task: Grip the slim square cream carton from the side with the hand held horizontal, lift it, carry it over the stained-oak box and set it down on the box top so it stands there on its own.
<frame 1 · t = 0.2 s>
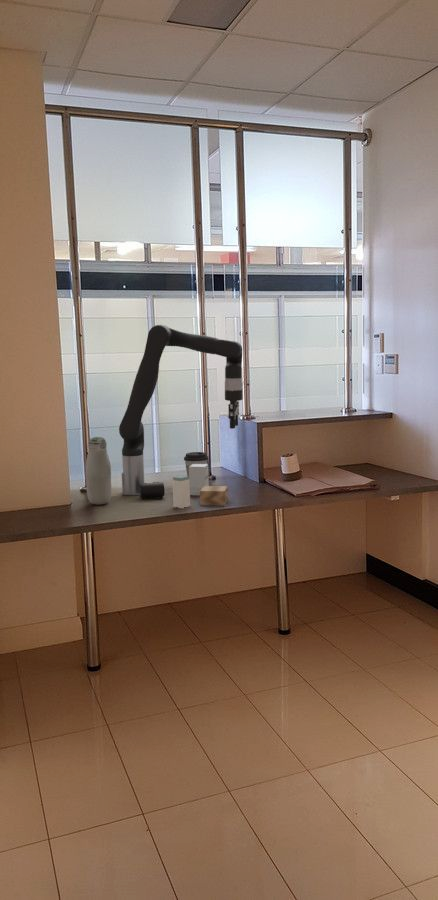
hand: (234, 427, 301), 29 cm above the table, tool pointing down, fingers open, 8 cm apart
coffee cup: (197, 486, 325), on the table
end cap: (151, 498, 302), on the table
supplement box: (199, 494, 308), on the table
cream carton: (181, 506, 285), on the table
oak box: (214, 502, 291), on the table
glass bottle: (100, 504, 293), on the table
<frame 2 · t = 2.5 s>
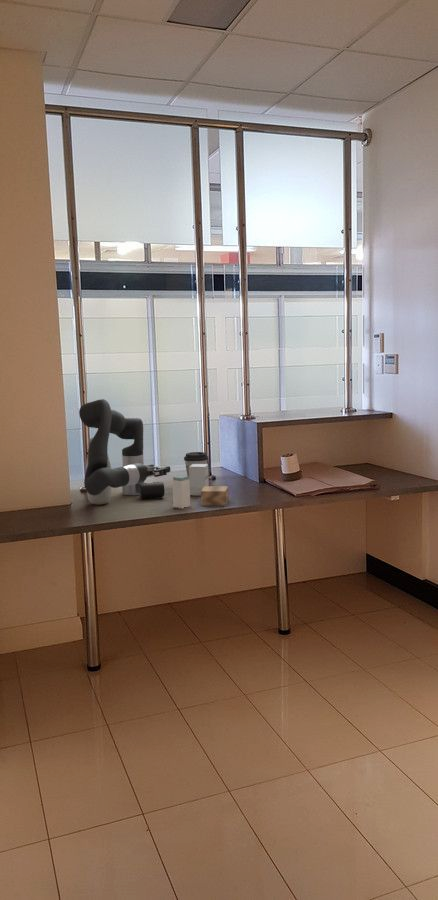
hand: (161, 468, 274), 17 cm above the table, tool horizontal, fingers open, 8 cm apart
nothing on the table moved.
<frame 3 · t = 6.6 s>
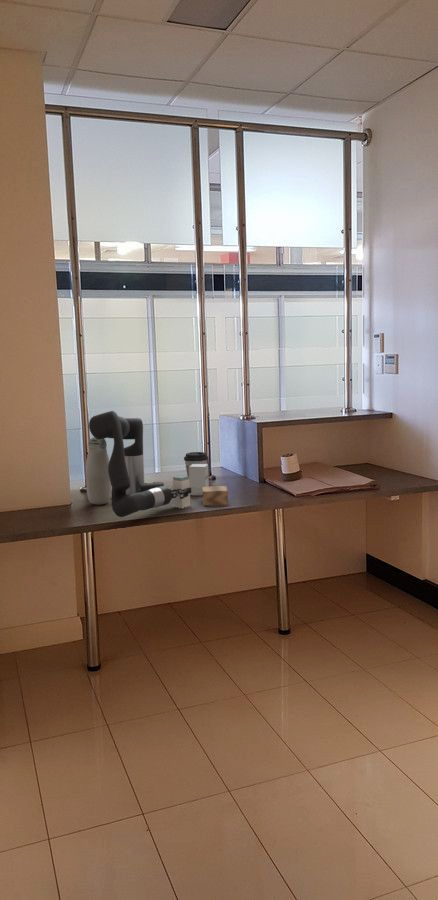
hand: (185, 489, 286), 7 cm above the table, tool horizontal, fingers closed on cream carton, 4 cm apart
cream carton: (181, 506, 285), on the table, touching gripper
when the fingers open (13 cm above the table, at t = 11.3 s): cream carton stays where it is, resting on oak box.
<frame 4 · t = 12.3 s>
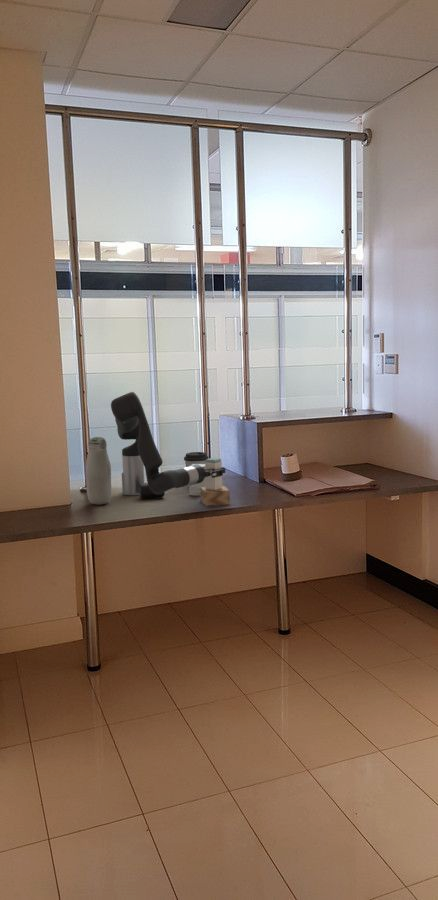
hand: (216, 469, 290), 14 cm above the table, tool horizontal, fingers open, 8 cm apart
cream carton: (213, 488, 290), point 6 cm above the table, touching oak box
oak box: (215, 503, 290), on the table, touching cream carton
everything else where it was.
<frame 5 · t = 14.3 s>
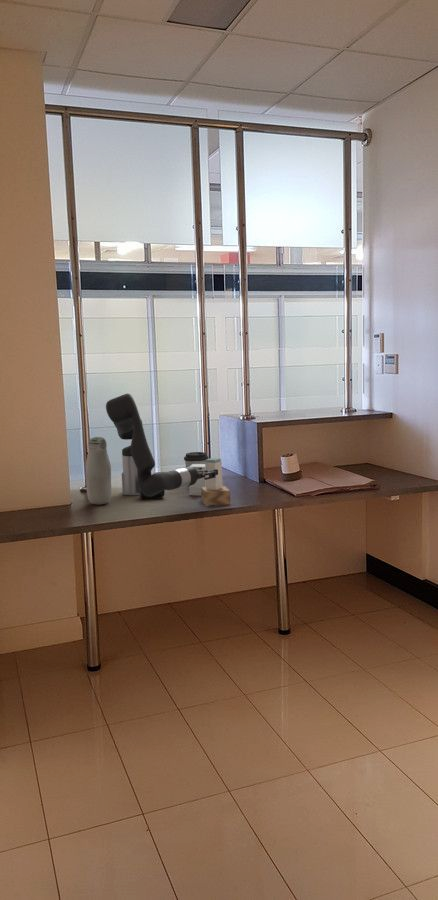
hand: (209, 470, 287), 14 cm above the table, tool horizontal, fingers open, 8 cm apart
cream carton: (214, 488, 290), point 6 cm above the table
oak box: (215, 503, 290), on the table
everything else where it was.
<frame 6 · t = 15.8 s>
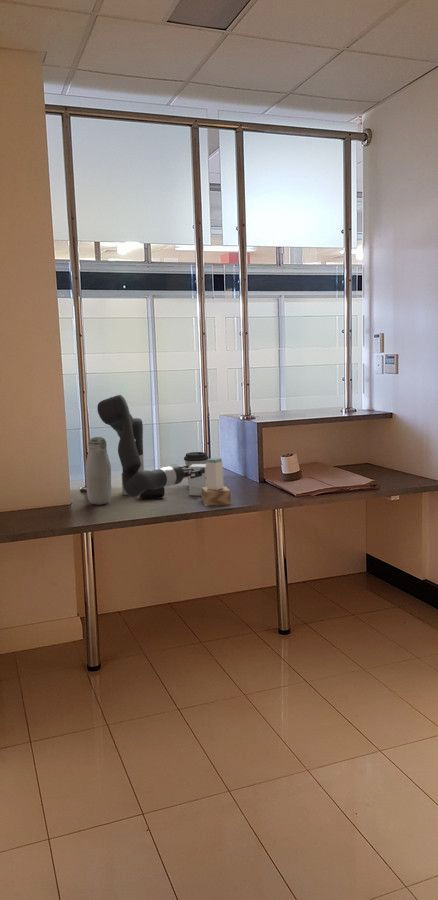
hand: (195, 469, 280), 16 cm above the table, tool horizontal, fingers open, 8 cm apart
nothing on the table moved.
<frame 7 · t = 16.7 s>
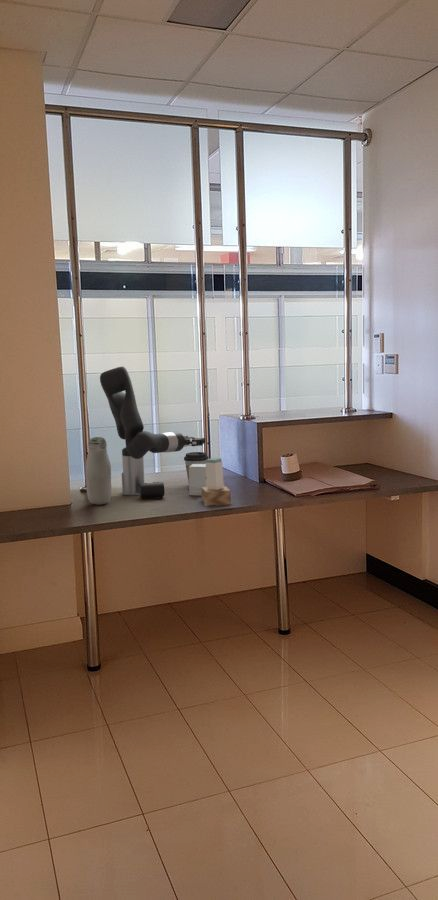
hand: (195, 439, 280), 27 cm above the table, tool horizontal, fingers open, 8 cm apart
nothing on the table moved.
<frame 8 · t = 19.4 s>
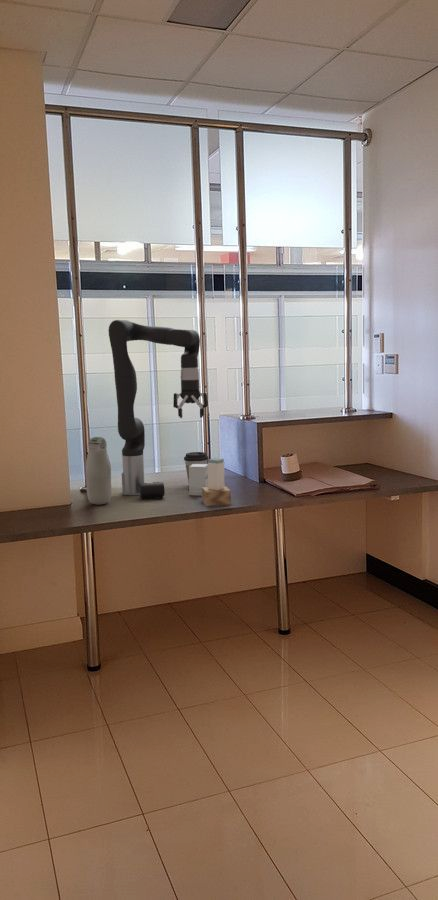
hand: (191, 417, 295), 34 cm above the table, tool pointing down, fingers open, 8 cm apart
at the end: cream carton inside the target area on the oak box (0.2 cm from its centre), point 6.1 cm above the oak box's base; cream carton tilted 2°; the gripper is holding nothing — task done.
